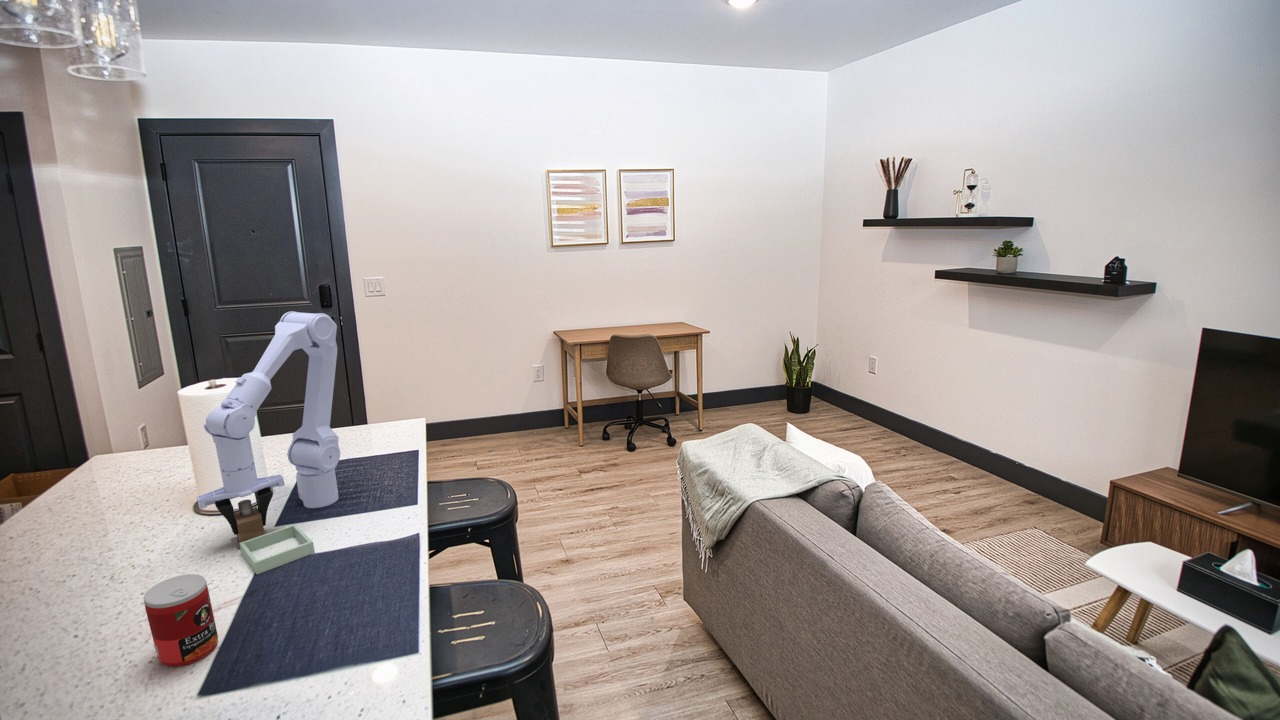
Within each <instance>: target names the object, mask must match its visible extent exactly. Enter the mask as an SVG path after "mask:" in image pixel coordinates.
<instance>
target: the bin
mask: <svg viewBox="0 0 1280 720" xmlns="http://www.w3.org/2000/svg"><path fill="white" fill-rule="evenodd" d="M291 538H296V540H297V541H298V542H299V543H300V544H299V545H296V546H294V547H290V548H288V549H285V550H283V551H280V552H277V553H274V554H272V555H269V556H266V557H264V558H260V559H257V558H256V557H255V555H254V554H253V552H255V551H258V550H261V549H263V548H266V547H267V548H268V547H269V546H273V545H275V544H277V543H281V542H282V541H286V540H289V539H291ZM239 544H240V550H239V551H240V553H241V556H242V557H243V558H244V560H245V561H246V562H247V564H248V565H249V566H250V568H251V569H252V570H253V571H254V573H255V574H256V575H260V574H262V573H266V572H267V571H270V570H272V569H276V568H278V567H280V566H283V565H286V564H289V563H291V562H294V561H297V560H299V559H301V558H304V557H307V556H310V555H312V554H315V546H314V542H313V540H312V539H311V538H310V537H309V536H308V535H307V534H306V533H305V532H304V531H303V530H302V529H301V528H300V527H299V526H298V525H297V524H296V523H294V524H291V525H288V526H285V527H282V528H279V529H276V530H273V531H270V532H267V534H264V535H262V536H259V537H256V538H253V539H250V540H247V541H244V542H241V543H239Z"/></svg>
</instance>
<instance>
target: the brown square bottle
mask: <svg viewBox="0 0 1280 720" xmlns="http://www.w3.org/2000/svg"><path fill="white" fill-rule="evenodd" d="M237 507H238V510H239V511H236V512H235V511H234V517H235V522H236V525H237V529H238V534H236V535H235V536H236V537H237V539H238V541H239V542H240V543H241V542H244V541H247V540H250V539H253V538H256V537H259V536H262V535H264V534H265V533H264V529H265V528H264V526H263V522H262V517H261V513H260V512H259V510H258V506H253V505H252V500H251V499H243V500H240V501H238V502H237Z"/></svg>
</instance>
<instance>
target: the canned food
mask: <svg viewBox="0 0 1280 720" xmlns="http://www.w3.org/2000/svg"><path fill="white" fill-rule="evenodd" d="M143 603H144V609H145V612H146V617H147V620H148V624H149V628H150V633H151V637H152V640H153V644H154V648H155V653H156V656H157V659H158V661H159V662H160V663H161V664H162V665H163V666H165V667H171V668H175V667H176V668H177V667H183V666H187V665H190V664H193V663H195V662H197V661H200V660H202V659H203V658H205V657H206V656H208V655H209V654H210V653H211V652H212V651H214V649H215V648H216V647H217V644H218V638H219V636H218V631H217V627H216V621H215V616H214V611H213V606H212V601H211V596H210V591H209V587H208V582H207V581H206V578H205V577H204V576H203V575H200V574H196V573H195V574H193V573H192V574H181V575H177V576H173V577H170V578H168V579H165V580H162V581H160V582H157V583H155V585H153V586H152V587H150V588H149V589H148V590H147V591H146V592H145V593H144V595H143Z"/></svg>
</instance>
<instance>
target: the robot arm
mask: <svg viewBox="0 0 1280 720" xmlns="http://www.w3.org/2000/svg"><path fill="white" fill-rule="evenodd" d="M337 328H338V325H337V324H336V322H335V320H333V319H332V317H330V316H329V315H328V314H326V313H323V312H321V313H319V312H318V313H311V312H300V311H299V312H298V311H294V310H293V311H288V312H285V313H284V314H283V315H282V316H281V318H280V319H279V321H278V322H277V324H276V325H275V326H274V332H275V333H274V336H273V337H272V339H271V341H270V343H269V344H268V345H267V348H266V349H265V351H264V352H263V354H262V356H261V357H260V359H259V361H258V363H257V364H256V366H255V368H254V369H253V370H252V371H251V372H247V373H244V374H242V375H241V377H238V378H237V379H236V380H235V385H234V386H233V388H232V389H231V390H230V391H229V393H228V394H227V396H226V398H225V399H223V401H222V402H221V405H220V406H217V407H216V408H212V410H211V411H210V412H209V413H208V414H207V415H206V416H207V417H206V420H205V424H203V429H204V431H205V432H206V433H207V434H209V435H210V436H211V437H212V442H213V443H214V445H215V449H216V454H217V460H218V465H219V466H218V467H219V470H220V474H221V480H222V485H223V486H222V487H220V488H217V489H215V490H214V489H213V490H212V491H210V492H207V493H204V494H201V495H197V496H196V499H197V500H196V501H197V505H198V507H199V510H200V509H201V510H203V509H204V508H205V509H206V508H207V507H208V506H212V505H215V508H216V509H217V510H218V512H219V513H220V514H221V515H222V516H223V517H224V518H225V520H226V521H227V522H228V523H229V525H230V529H231V531H232V533H233V535H234V536H237V535H236V534H238V529H237V525H236V522H235V517H234V513H235V511H234V506H233V504H232V501H231V500H233V499H236V498H245V497H247V496H251V495H252V494H254V496H255V502H256V507H257V509H258V510H259V512H260V513H261V517H262V522H263V527H265V526H266V525H267V514H268V511H269V507H270V503H271V501H272V499H273V496H274V495H273V491H272V489H273V488H276V487H277V488H280V487H285V486H286V485H285V479H284V475H282V474H276V475H270V476H267V477H266V476H264V477H258V476H257V475H258V474H257V469H256V464H255V458H254V453H253V448H252V442H251V436H250V434H251V432H252V431H253V430H254V428H255V425H256V424H255V423H256V419H255V418H256V416H257V411H258V409H259V408H260V406H261V405H262V404H263V402H264V401H265V400H266V398H267V396H268V395H269V393H270V392H271V391H272V384H271V379H272V378H273V377H274V376H275V374H276V373H277V372H278V371H279V369H280V368H281V367H282V365H283V364H284V363H286V361H287V359H288V358H289V357H290V356H291V354H292V353H293V352H294V351H297V350H299V349H300V350H301V349H302V350H303V351H304V352H305V353H306V354H307V355H308V365H307V367H308V368H307V375H306V376H307V377H306V386H305V395H304V396H305V397H304V406H303V416H302V424H301V426H300V427H299V428H298V429H297V430H296V431H295V432H293V434H292V440H291V443H290V445H289V447H288V448H287V459H288V461H289V463H290V464H291V465H292V466H295V471H297V472H296V475H295V479H296V486H297V491H298V497H299V499H300V500H301V501H302V503H303V506H304V507H305V508H308V509H317V508H319V509H320V508H324V507H327V506H330V505H332V504H334V503H336V502H337V501H338V500H339V489H338V483H337V476H336V470H335V468H337V465H338V464H339V461H340V458H341V449H340V447H339V436H338V435H337V434H336V433H335V431H334V430H333V429H332V428H331V426H330V425H331V417H332V410H333V409H332V407H333V397H334V389H335V388H334V387H335V378H336V366H337V359H338V344H337V341H336V338H337V330H338V329H337ZM250 388H251V389H250Z"/></svg>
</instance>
